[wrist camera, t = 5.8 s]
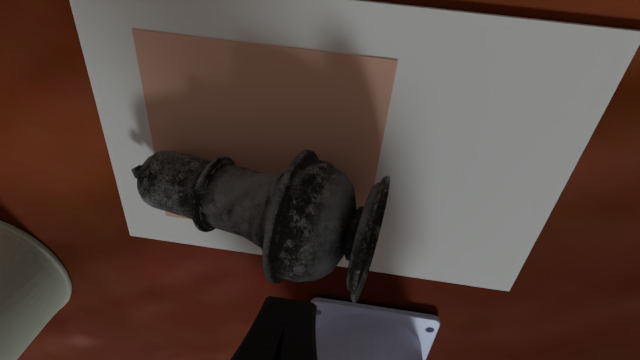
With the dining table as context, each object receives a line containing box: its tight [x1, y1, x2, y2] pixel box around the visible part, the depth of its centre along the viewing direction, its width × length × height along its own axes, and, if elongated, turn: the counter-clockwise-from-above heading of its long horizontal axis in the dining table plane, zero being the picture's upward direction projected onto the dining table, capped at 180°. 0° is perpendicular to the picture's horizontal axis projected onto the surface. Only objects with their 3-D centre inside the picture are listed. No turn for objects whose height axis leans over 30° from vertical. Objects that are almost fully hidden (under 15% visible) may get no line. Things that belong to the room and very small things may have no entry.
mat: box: [69, 0, 640, 291], centre depth 19 cm, size 14×22×1 cm, turn 86°
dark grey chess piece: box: [131, 150, 390, 303], centre depth 18 cm, size 6×6×12 cm
